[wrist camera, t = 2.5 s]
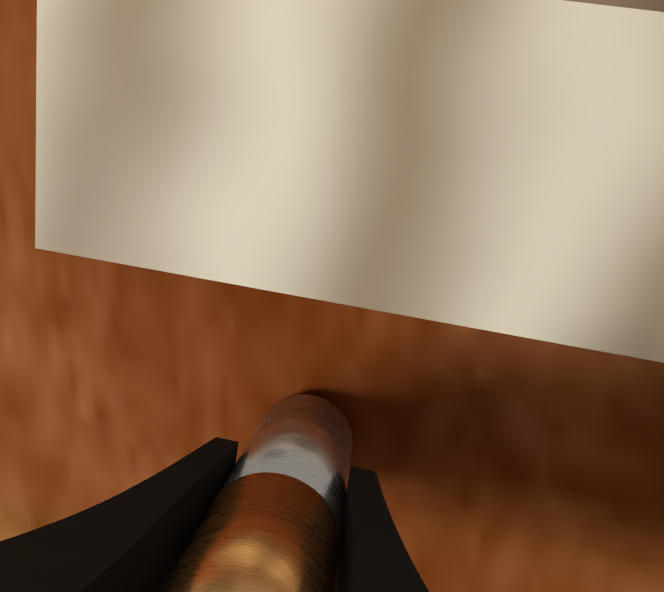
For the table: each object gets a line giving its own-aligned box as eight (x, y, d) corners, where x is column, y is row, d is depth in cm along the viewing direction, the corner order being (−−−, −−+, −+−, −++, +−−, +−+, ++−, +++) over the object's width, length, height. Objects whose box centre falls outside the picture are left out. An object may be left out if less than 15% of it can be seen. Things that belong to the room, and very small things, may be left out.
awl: (360, 404, 13) (325, 705, 5) (344, 489, 13) (291, 874, 6) (265, 385, 13) (91, 643, 5) (254, 469, 14) (83, 811, 6)
